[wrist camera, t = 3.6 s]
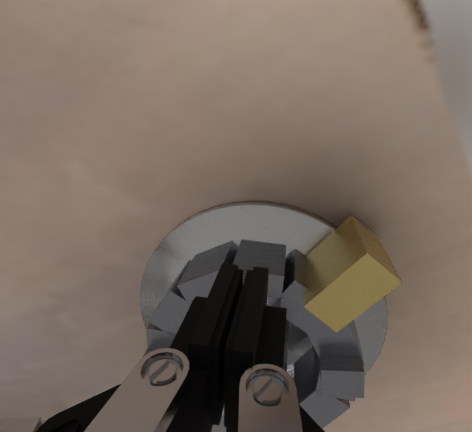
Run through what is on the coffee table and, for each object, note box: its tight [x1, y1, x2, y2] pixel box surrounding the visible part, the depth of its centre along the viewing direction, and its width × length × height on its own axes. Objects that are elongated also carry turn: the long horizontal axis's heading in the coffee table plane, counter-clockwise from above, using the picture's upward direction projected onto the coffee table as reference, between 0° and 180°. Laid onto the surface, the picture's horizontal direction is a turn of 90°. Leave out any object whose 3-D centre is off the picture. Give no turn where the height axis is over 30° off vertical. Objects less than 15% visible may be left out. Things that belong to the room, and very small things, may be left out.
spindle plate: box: [140, 201, 387, 432], centre depth 22 cm, size 19×19×10 cm
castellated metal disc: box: [143, 215, 402, 428], centre depth 22 cm, size 17×14×5 cm
